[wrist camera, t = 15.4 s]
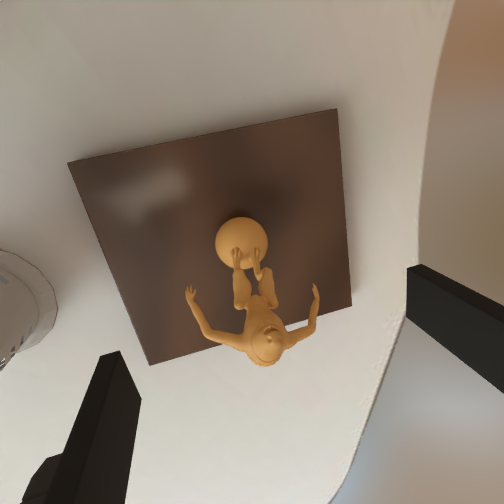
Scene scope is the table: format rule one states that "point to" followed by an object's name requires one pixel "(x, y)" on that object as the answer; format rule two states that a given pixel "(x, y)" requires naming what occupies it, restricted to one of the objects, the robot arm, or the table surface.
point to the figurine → (258, 313)
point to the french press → (23, 306)
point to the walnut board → (213, 217)
